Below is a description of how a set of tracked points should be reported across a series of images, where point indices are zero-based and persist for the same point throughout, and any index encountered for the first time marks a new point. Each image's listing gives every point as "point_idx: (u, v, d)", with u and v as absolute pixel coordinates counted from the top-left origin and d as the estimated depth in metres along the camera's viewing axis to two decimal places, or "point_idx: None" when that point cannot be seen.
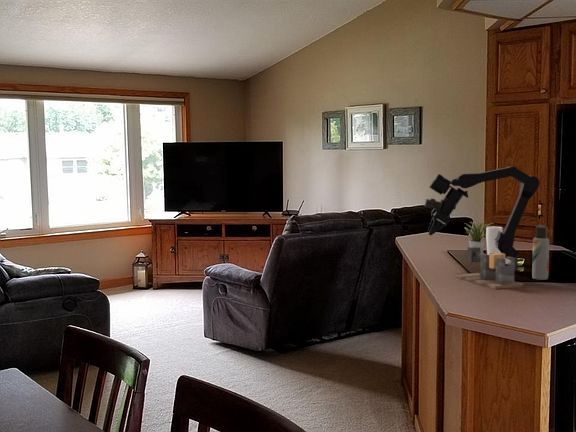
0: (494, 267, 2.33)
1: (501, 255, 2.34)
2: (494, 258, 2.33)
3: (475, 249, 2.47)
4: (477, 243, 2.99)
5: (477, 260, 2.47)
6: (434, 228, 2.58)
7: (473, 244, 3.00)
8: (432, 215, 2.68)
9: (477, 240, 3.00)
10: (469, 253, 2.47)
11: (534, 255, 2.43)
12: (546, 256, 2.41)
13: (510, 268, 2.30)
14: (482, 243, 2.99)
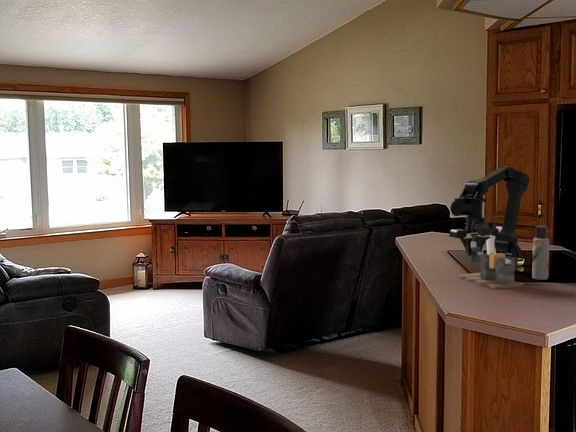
0: (494, 267, 2.33)
1: (501, 255, 2.34)
2: (494, 258, 2.33)
3: (475, 249, 2.47)
4: None
5: (477, 260, 2.47)
6: None
7: (473, 244, 3.00)
8: (471, 239, 2.44)
9: None
10: None
11: (534, 255, 2.43)
12: (546, 256, 2.41)
13: (510, 268, 2.30)
14: None
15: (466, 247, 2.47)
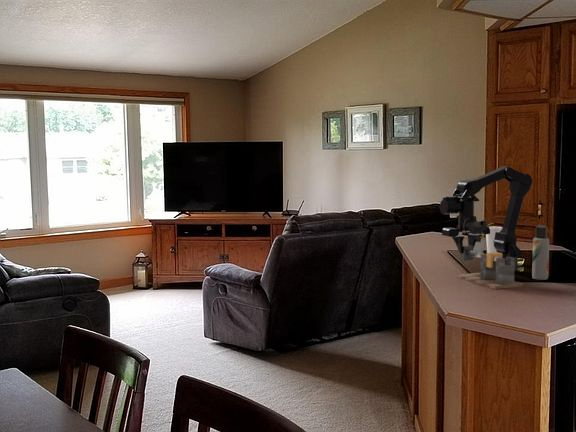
0: (491, 266, 2.35)
1: (498, 254, 2.36)
2: (491, 257, 2.35)
3: (468, 247, 2.51)
4: (477, 243, 2.99)
5: (470, 258, 2.52)
6: None
7: None
8: (463, 237, 2.49)
9: (477, 240, 3.00)
10: None
11: (534, 255, 2.43)
12: (546, 256, 2.41)
13: (510, 268, 2.30)
14: (482, 243, 2.99)
15: (458, 245, 2.52)
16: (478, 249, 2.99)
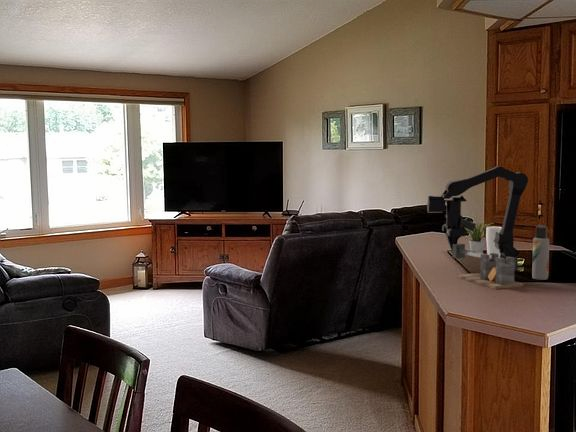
0: (492, 280, 2.35)
1: None
2: (495, 275, 2.33)
3: (460, 245, 2.56)
4: (477, 243, 2.99)
5: (461, 256, 2.57)
6: None
7: (473, 244, 3.00)
8: None
9: (477, 240, 3.00)
10: (454, 249, 2.57)
11: (534, 255, 2.43)
12: (546, 256, 2.41)
13: (510, 268, 2.30)
14: (482, 243, 2.99)
15: None
16: (478, 249, 2.99)
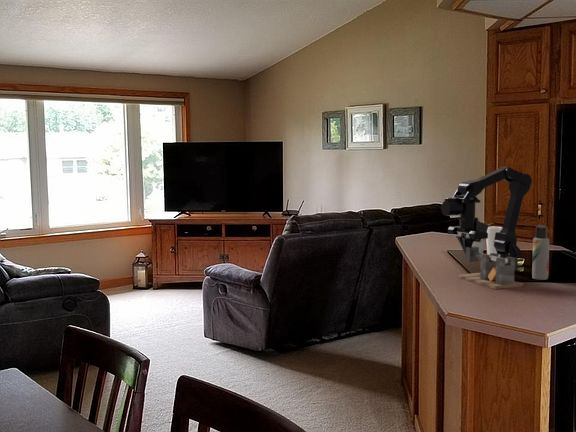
0: (492, 280, 2.35)
1: None
2: (495, 275, 2.33)
3: (473, 249, 2.48)
4: (477, 243, 2.99)
5: (475, 260, 2.48)
6: None
7: (473, 244, 3.00)
8: None
9: (477, 240, 3.00)
10: (467, 253, 2.48)
11: (534, 255, 2.43)
12: (546, 256, 2.41)
13: (510, 268, 2.30)
14: (482, 243, 2.99)
15: None
16: None
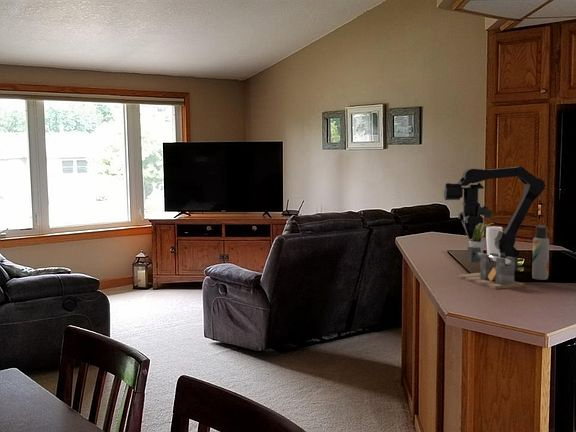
0: (492, 280, 2.35)
1: None
2: (495, 275, 2.33)
3: (475, 249, 2.47)
4: (477, 243, 2.99)
5: (477, 260, 2.47)
6: None
7: (473, 244, 3.00)
8: None
9: (477, 240, 3.00)
10: (469, 253, 2.47)
11: (534, 255, 2.43)
12: (546, 256, 2.41)
13: (510, 268, 2.30)
14: (482, 243, 2.99)
15: (470, 231, 2.58)
16: None
